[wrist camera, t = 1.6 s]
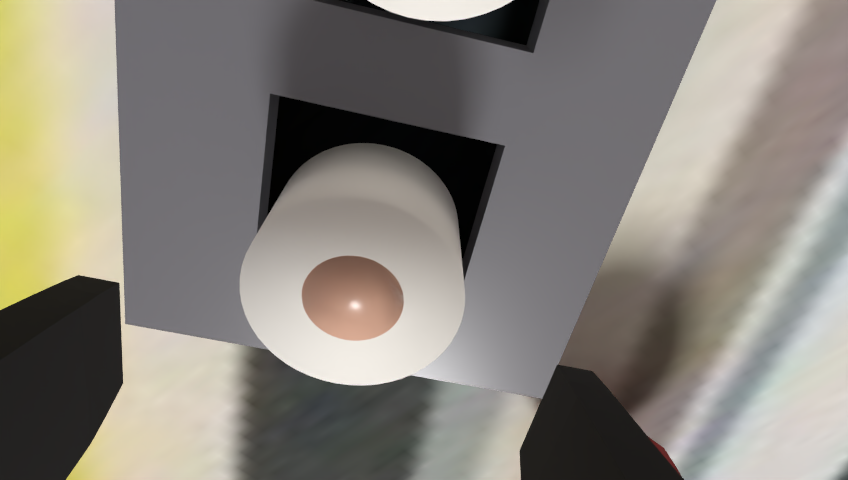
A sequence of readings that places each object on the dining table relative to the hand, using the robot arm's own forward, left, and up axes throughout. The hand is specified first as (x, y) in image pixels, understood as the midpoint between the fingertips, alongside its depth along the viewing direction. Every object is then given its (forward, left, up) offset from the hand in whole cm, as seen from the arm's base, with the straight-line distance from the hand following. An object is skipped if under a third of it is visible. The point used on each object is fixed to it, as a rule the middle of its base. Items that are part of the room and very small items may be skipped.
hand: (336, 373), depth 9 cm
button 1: (0, 0, -5) cm, 5 cm away
